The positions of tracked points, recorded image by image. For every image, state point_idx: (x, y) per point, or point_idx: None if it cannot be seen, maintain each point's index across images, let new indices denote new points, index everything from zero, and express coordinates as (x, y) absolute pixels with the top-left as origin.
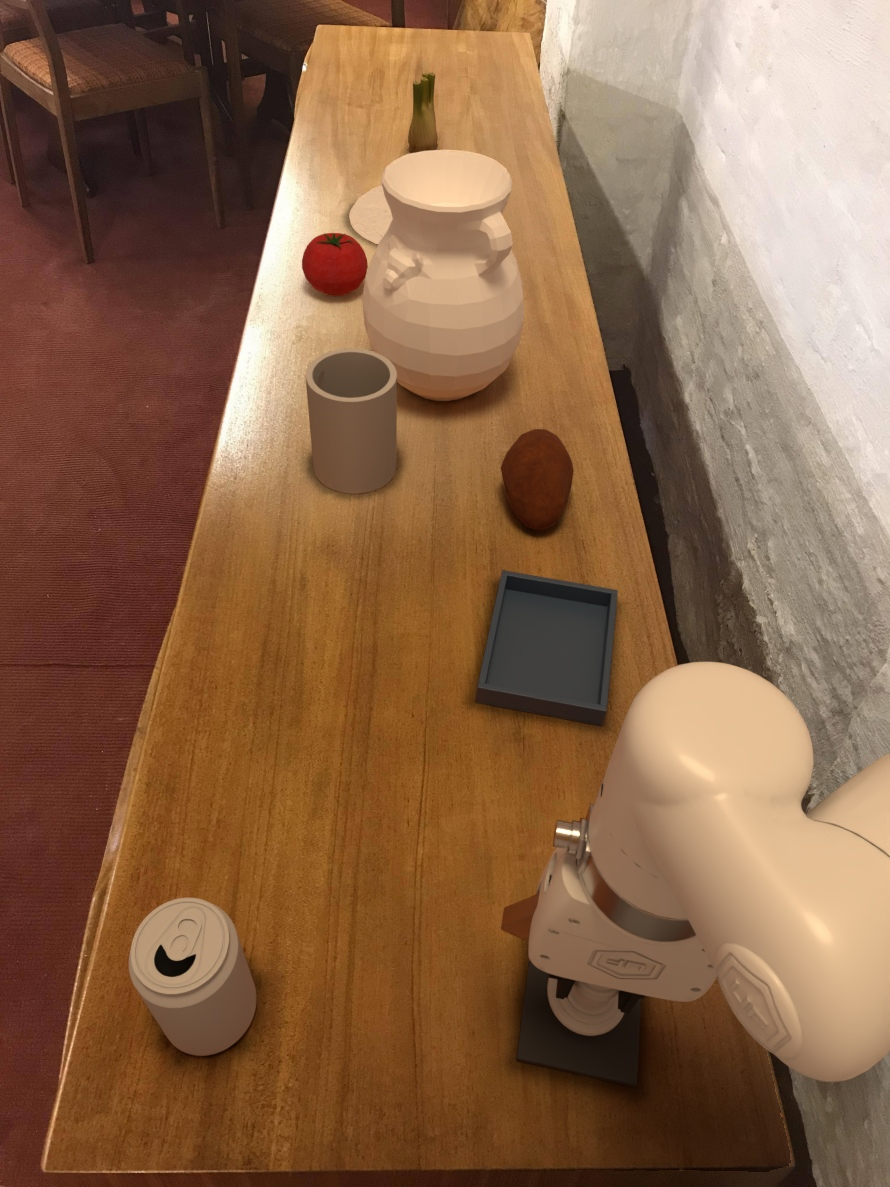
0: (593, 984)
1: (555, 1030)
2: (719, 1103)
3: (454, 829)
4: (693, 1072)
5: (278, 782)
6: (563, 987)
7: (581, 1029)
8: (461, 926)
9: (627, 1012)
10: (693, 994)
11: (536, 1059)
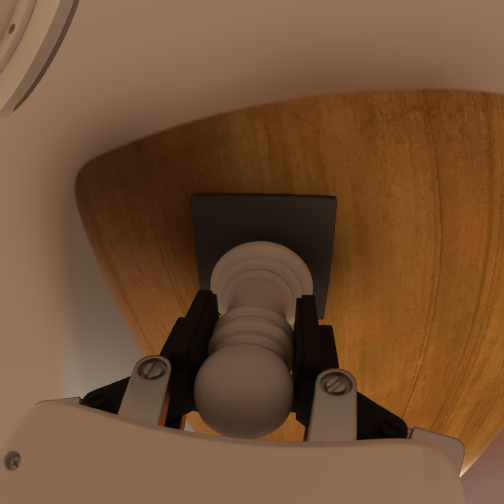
0: (262, 358)
1: (292, 236)
2: (114, 199)
3: (389, 382)
4: (139, 221)
5: (499, 369)
6: (314, 330)
7: (264, 248)
8: (392, 315)
9: (200, 292)
10: (23, 437)
11: (313, 201)
